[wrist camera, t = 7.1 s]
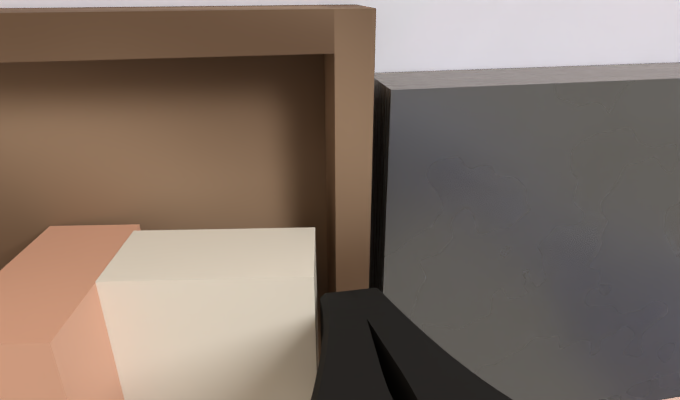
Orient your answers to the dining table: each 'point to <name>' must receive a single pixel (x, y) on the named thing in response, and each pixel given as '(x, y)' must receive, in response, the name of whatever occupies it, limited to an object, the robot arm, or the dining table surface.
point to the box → (191, 124)
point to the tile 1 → (59, 317)
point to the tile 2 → (214, 314)
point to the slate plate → (535, 223)
